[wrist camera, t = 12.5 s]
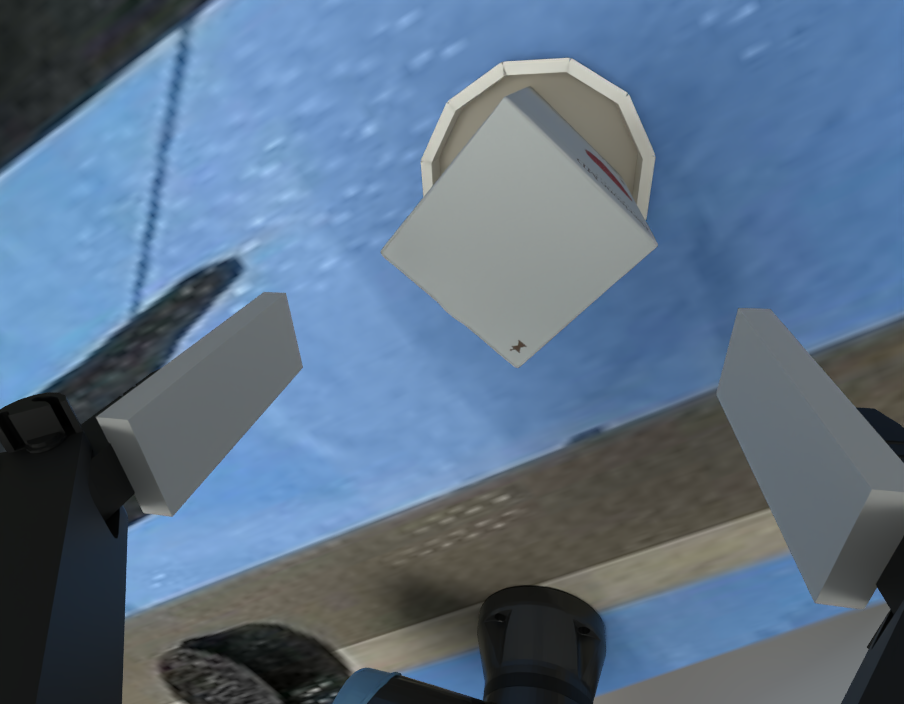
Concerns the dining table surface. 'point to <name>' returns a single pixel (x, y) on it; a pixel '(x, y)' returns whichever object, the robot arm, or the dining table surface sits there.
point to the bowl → (572, 95)
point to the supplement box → (521, 229)
